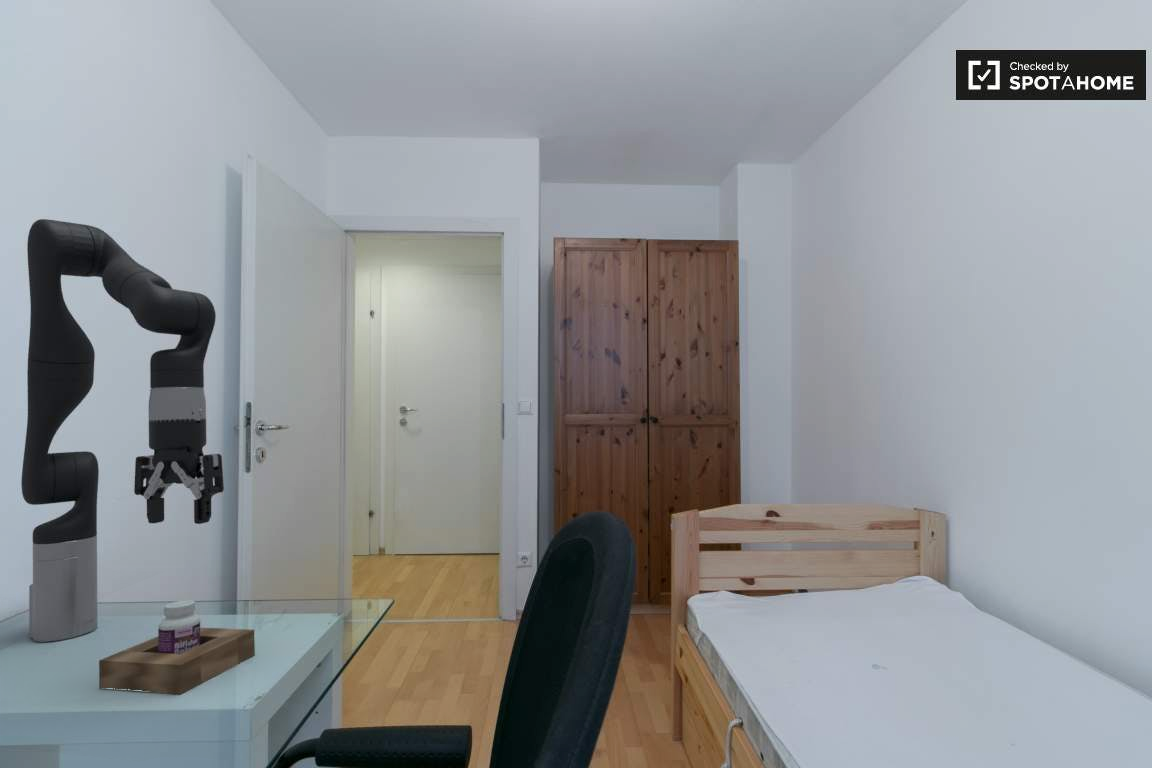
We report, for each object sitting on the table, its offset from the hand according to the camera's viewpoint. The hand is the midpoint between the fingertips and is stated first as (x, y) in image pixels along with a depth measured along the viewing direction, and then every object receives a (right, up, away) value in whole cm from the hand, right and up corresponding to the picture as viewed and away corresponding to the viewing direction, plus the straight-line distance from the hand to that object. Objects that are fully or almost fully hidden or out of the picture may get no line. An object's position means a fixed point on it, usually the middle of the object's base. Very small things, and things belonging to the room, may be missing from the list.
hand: (179, 522), depth 95 cm
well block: (+1, -22, -2) cm, 22 cm away
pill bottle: (+1, -22, -2) cm, 22 cm away
